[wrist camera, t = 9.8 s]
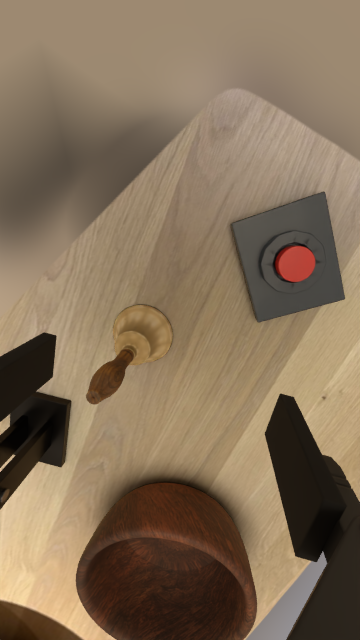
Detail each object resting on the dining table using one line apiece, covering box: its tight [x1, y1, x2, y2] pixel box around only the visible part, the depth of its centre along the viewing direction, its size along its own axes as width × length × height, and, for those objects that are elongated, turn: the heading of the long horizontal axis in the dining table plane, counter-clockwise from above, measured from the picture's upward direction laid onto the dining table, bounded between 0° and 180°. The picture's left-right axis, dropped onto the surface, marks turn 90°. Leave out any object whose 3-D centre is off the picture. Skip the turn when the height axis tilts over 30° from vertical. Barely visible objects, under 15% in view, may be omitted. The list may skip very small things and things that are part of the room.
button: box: [275, 246, 315, 282], centre depth 29 cm, size 4×4×2 cm
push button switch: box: [231, 192, 345, 322], centre depth 32 cm, size 12×10×4 cm
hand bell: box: [86, 305, 173, 404], centre depth 31 cm, size 8×8×16 cm
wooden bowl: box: [76, 483, 257, 640], centre depth 43 cm, size 25×25×10 cm
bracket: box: [0, 392, 71, 509], centre depth 38 cm, size 12×9×14 cm
